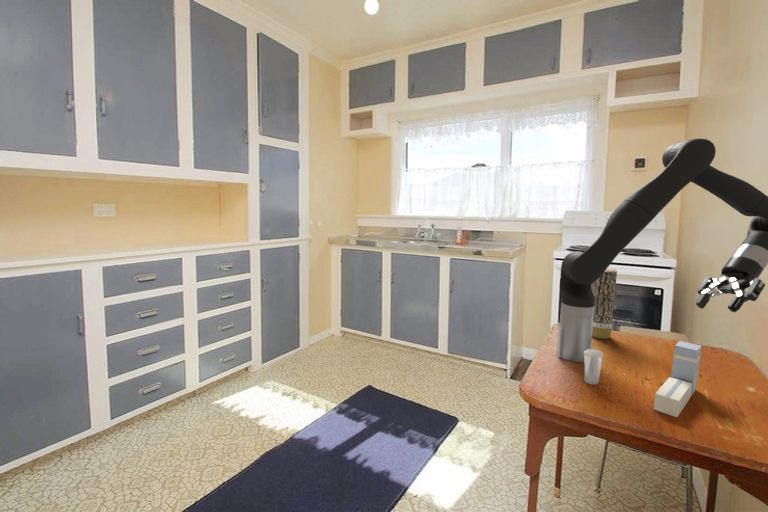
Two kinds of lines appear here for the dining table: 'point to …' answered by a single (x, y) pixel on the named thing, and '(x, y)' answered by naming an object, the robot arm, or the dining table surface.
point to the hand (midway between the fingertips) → (714, 308)
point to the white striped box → (673, 396)
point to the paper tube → (604, 304)
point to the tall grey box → (686, 362)
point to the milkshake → (592, 365)
